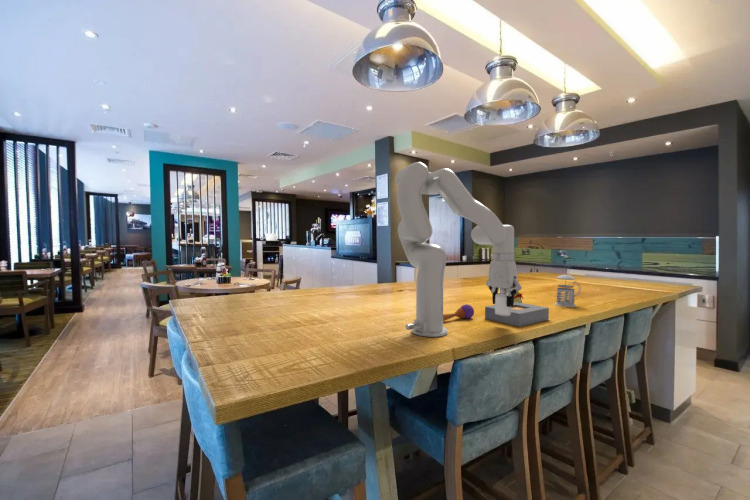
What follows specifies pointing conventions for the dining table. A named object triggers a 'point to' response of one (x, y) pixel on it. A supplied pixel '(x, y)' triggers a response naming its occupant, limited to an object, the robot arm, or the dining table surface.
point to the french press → (566, 289)
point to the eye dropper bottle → (502, 303)
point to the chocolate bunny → (517, 296)
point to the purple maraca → (461, 313)
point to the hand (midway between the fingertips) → (502, 304)
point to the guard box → (519, 314)
